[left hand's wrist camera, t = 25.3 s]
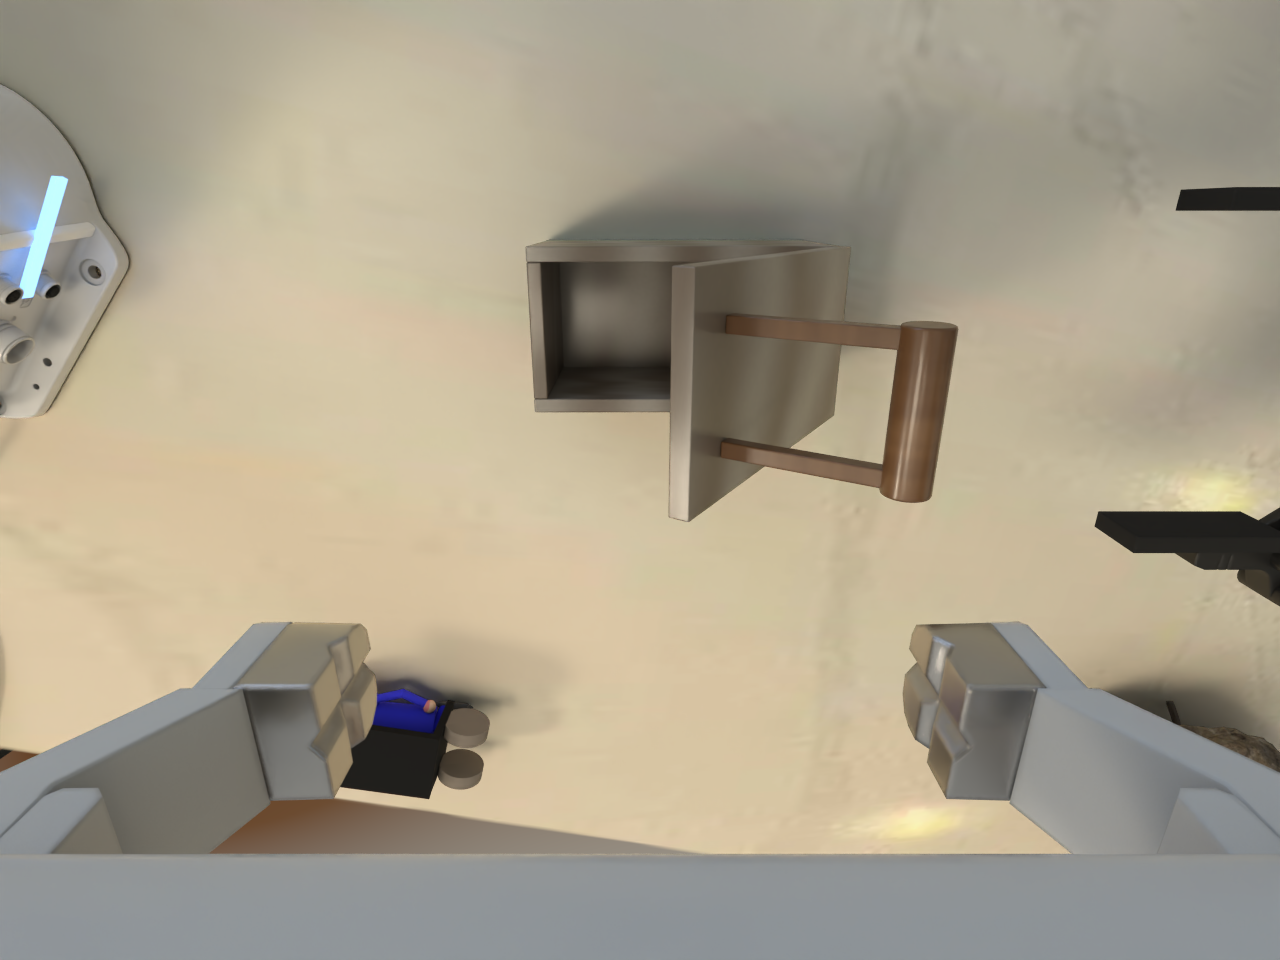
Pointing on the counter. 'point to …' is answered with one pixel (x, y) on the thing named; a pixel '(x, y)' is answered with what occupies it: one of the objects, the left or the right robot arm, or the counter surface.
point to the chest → (613, 317)
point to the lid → (789, 378)
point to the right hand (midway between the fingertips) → (1154, 379)
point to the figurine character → (418, 747)
